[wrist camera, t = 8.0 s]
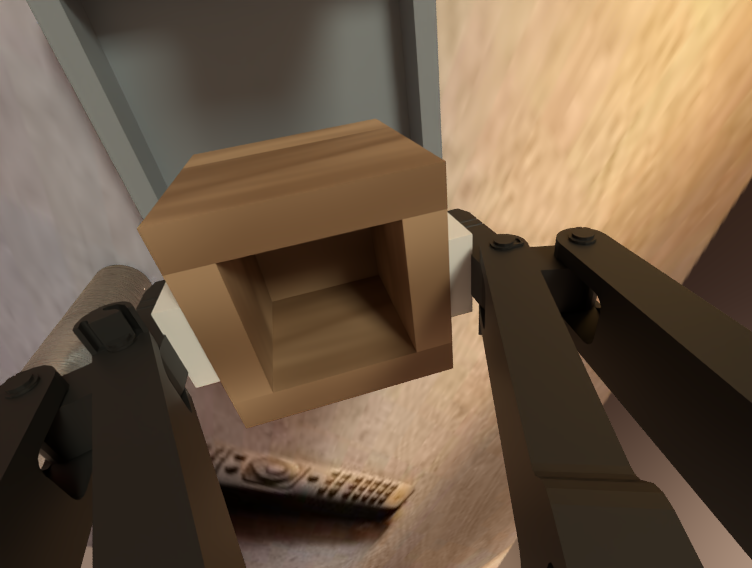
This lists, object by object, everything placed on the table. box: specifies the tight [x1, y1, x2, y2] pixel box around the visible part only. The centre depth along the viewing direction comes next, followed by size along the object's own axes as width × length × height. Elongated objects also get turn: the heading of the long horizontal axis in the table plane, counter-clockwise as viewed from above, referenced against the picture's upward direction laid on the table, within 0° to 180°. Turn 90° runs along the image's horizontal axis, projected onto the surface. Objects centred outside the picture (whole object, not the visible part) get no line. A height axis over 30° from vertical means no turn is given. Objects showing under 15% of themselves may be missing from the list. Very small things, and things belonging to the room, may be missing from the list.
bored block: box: [137, 119, 453, 428], centre depth 13 cm, size 7×7×7 cm
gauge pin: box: [21, 265, 152, 469], centre depth 16 cm, size 3×3×14 cm
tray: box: [26, 0, 442, 220], centre depth 20 cm, size 20×15×3 cm
